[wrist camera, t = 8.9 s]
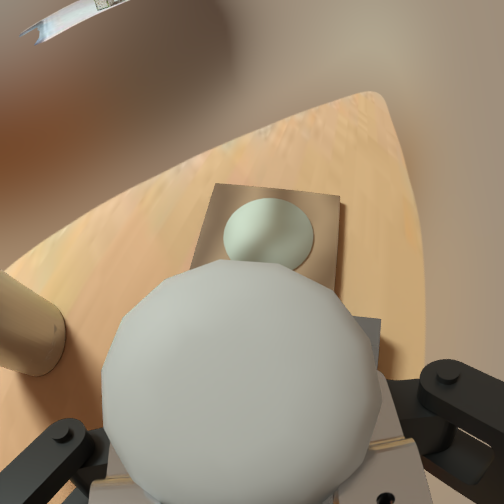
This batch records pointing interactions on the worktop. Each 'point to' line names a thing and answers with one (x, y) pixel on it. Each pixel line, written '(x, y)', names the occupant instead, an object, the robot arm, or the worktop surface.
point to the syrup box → (103, 3)
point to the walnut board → (272, 230)
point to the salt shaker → (240, 388)
